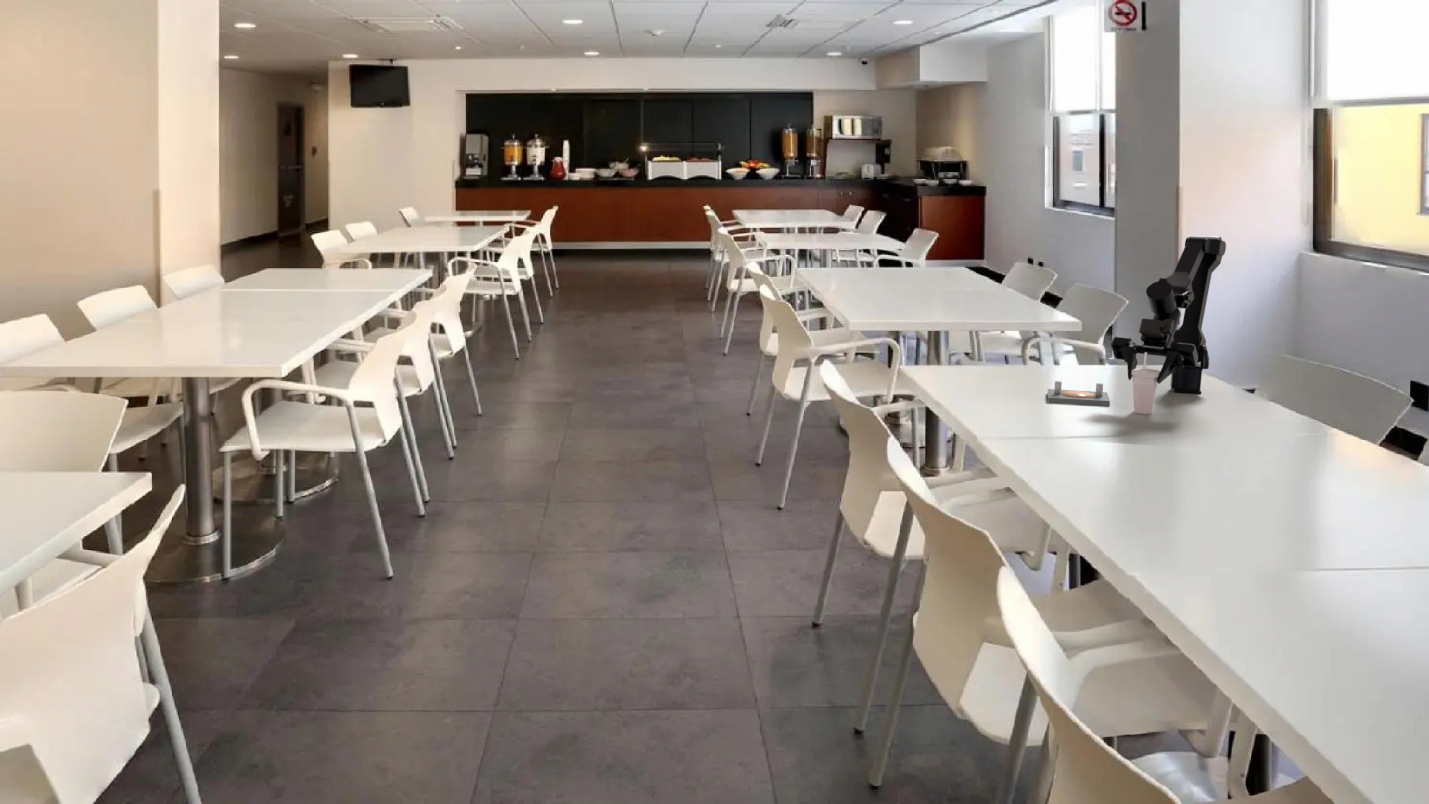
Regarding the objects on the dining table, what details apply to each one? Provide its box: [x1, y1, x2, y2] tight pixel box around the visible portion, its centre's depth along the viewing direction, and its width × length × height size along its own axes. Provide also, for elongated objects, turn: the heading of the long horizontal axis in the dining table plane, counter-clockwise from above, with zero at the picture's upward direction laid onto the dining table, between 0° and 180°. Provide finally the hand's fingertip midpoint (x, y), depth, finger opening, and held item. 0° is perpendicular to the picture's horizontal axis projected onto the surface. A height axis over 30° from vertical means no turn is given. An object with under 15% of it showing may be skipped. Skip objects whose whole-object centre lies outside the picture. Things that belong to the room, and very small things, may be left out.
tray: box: [1046, 380, 1111, 407], centre depth 294 cm, size 14×11×4 cm
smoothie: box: [1131, 352, 1161, 415], centre depth 280 cm, size 6×6×14 cm
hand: (1143, 380), depth 279 cm, fingers closed on smoothie, 6 cm apart
